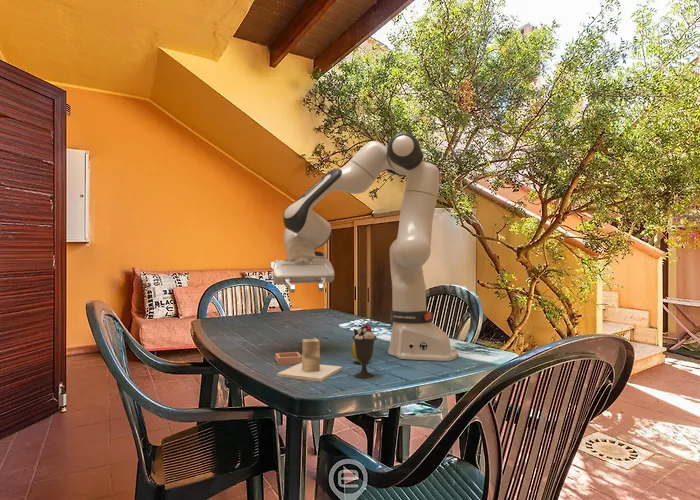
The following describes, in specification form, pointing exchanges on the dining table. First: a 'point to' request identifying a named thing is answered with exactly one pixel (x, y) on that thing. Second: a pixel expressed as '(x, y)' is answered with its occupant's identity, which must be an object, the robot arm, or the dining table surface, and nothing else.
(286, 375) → the tile
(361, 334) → the sundae
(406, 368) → the dining table surface
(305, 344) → the birch post
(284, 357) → the sleeve holder
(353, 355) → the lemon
